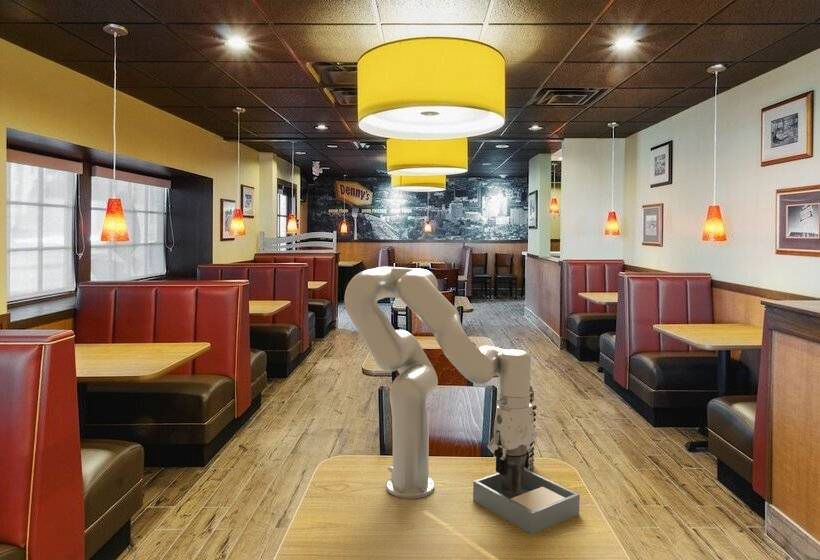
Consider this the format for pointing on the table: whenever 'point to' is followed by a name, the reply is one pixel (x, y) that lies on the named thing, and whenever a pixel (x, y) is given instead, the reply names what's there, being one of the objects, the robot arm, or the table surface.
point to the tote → (530, 521)
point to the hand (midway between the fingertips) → (512, 469)
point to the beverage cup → (514, 471)
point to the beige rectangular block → (537, 498)
